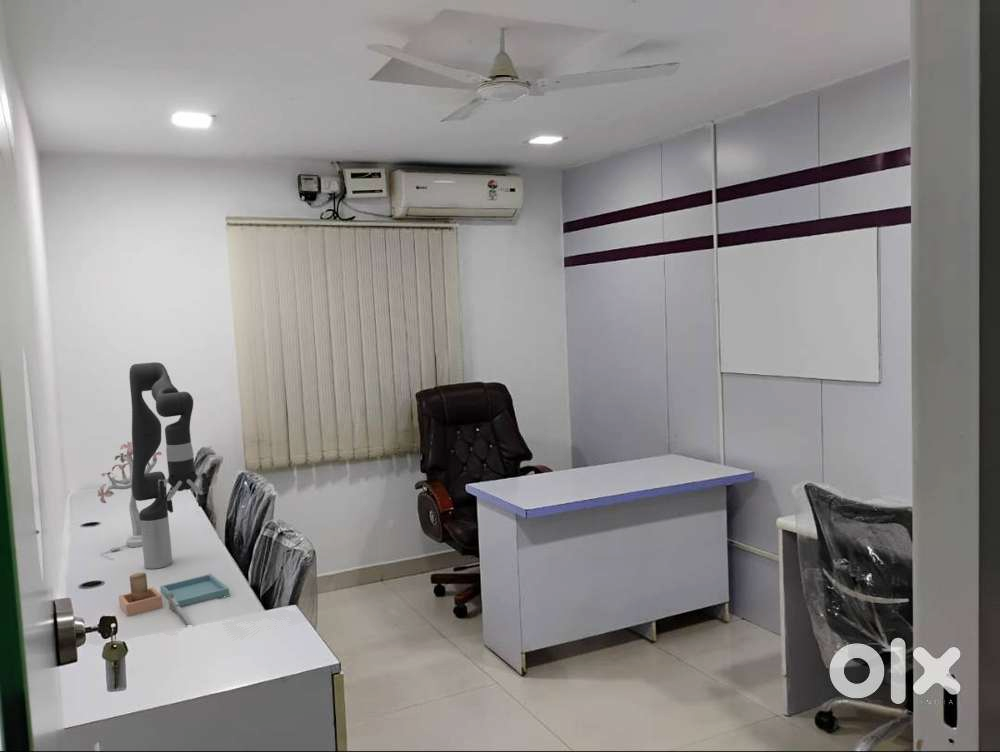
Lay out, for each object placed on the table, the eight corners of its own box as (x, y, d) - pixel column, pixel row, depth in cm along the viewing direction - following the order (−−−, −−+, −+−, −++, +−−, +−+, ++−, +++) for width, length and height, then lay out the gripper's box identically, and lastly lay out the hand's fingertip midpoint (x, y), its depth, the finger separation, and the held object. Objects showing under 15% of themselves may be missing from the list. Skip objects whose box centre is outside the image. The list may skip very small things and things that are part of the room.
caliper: (169, 611, 245) (167, 591, 244) (172, 610, 245) (170, 590, 245) (191, 631, 229) (189, 610, 228) (195, 630, 230) (193, 609, 229)
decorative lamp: (114, 560, 295) (103, 452, 291) (83, 550, 309) (72, 447, 305) (184, 539, 317) (174, 439, 313) (151, 531, 331) (142, 434, 327)
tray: (160, 593, 259) (160, 586, 259) (211, 581, 269) (210, 573, 268) (176, 609, 245) (175, 601, 245) (229, 595, 254) (228, 588, 254)
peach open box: (119, 608, 248) (118, 595, 248) (154, 599, 254) (153, 587, 254) (127, 618, 240) (126, 605, 240) (162, 608, 246) (161, 596, 246)
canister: (131, 606, 248) (128, 575, 247) (147, 602, 251) (144, 571, 249) (134, 611, 244) (131, 579, 243) (150, 607, 247) (147, 575, 246)
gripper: (201, 451, 254) (206, 501, 256) (152, 459, 246) (158, 511, 248) (207, 455, 248) (212, 506, 250) (158, 463, 240) (163, 516, 242)
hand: (185, 509), depth 249 cm, fingers open, 8 cm apart
